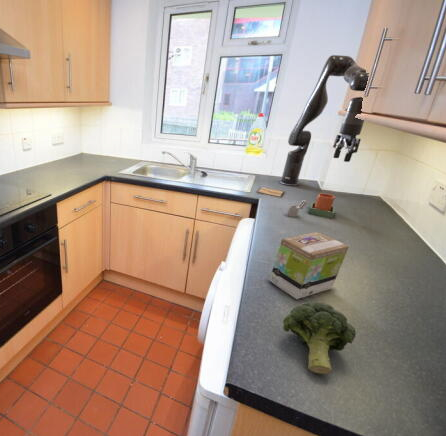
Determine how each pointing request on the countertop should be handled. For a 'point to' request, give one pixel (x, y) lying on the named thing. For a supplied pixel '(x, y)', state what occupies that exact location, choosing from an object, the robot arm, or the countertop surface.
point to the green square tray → (322, 211)
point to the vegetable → (320, 332)
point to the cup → (324, 201)
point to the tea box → (307, 264)
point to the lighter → (295, 209)
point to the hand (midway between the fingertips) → (340, 159)
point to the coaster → (270, 192)
